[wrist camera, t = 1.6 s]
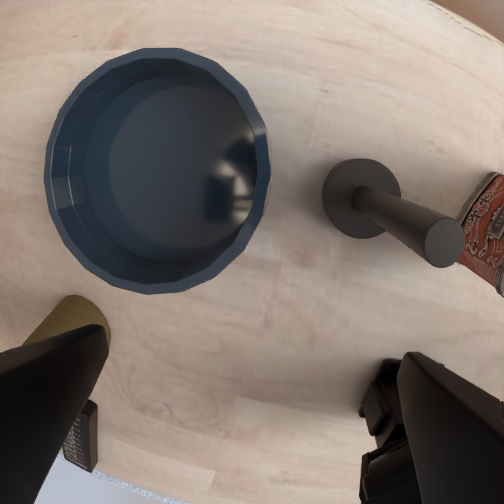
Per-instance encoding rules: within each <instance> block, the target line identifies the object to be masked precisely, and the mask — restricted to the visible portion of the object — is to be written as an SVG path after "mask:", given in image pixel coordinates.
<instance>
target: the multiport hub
mask: <svg viewBox="0 0 504 504" xmlns="http://www.w3.org/2000/svg"><path fill="white" fill-rule="evenodd" d="M62 449H63V454H64V458H65V459H66V460H68V461H70V462H71V463H73V464H75V465H77V466H78V467H80V468H82V469H84V470H86V471H88V472H90V473H92V471H93V469H94V467H95V466H96V464H97V462H98V457H97V405H96V404H95V403H94V402H92V401H90V400H87V402H86V403H85V405H84V407H83V409H82V410H81V412H80V414H79V416H78V418H77V419H76V421H75V423H74V425H73V427H72V429H71V430H70V432H69V434H68V436H67V438H66V440H65V442H64V443H63V445H62Z"/></svg>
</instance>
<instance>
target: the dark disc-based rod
mask: <svg viewBox="0 0 504 504" xmlns="http://www.w3.org/2000/svg"><path fill="white" fill-rule="evenodd" d="M322 203H323V207H324V210H325V212H326V214H327V216H328V218H329V219H330V220H331V222H332V223H333V224H334V225H335V227H336V228H337V229H339V230H340V231H341V232H342V233H344V234H346V235H348V236H350V237H354V238H359V239H366V238H372V237H375V236H378V235H380V234H381V233H383V232H385V231H388V232H389V233H390V234H392V235H393V236H394V237H396V238H397V239H399V240H400V241H401V242H403V243H404V244H405V245H406V246H408V247H409V248H410V249H412V250H413V251H414V252H416V253H417V254H418V255H419V256H421V257H422V258H423V259H425V260H426V261H427V262H428V263H430V264H431V265H432V266H434V267H437V268H445V267H448V266H451V265H452V264H454V263H455V262H456V261H457V260H458V259H459V257H460V256H461V254H462V252H463V249H464V245H465V235H464V231H463V229H462V227H461V225H460V224H459V223H458V222H457V221H456V220H455V219H452V218H450V217H448V216H445V215H443V214H440V213H438V212H435V211H433V210H430V209H428V208H425V207H422V206H420V205H417V204H415V203H412V202H409V201H407V200H404V199H401V192H400V188H399V185H398V182H397V180H396V178H395V176H394V175H393V173H392V172H391V171H390V170H389V169H388V168H387V167H386V166H384V165H383V164H381V163H379V162H377V161H374V160H371V159H350V160H347V161H344V162H342V163H340V164H339V165H337V166H336V167H335V168H334V169H333V170H332V171H331V172H330V173H329V174H328V176H327V178H326V180H325V182H324V185H323V190H322Z"/></svg>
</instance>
